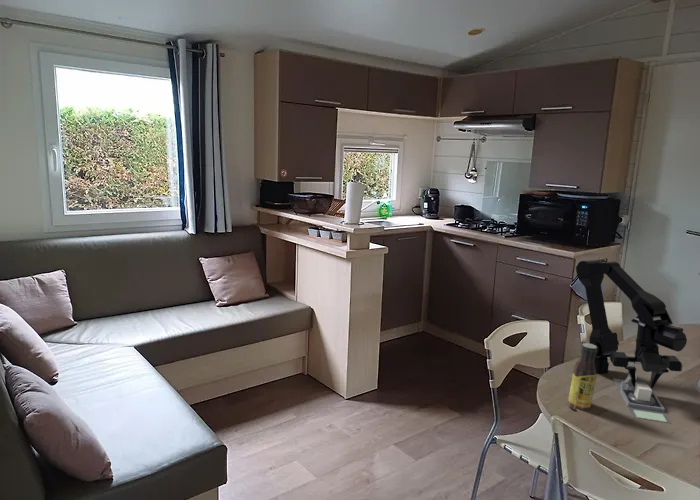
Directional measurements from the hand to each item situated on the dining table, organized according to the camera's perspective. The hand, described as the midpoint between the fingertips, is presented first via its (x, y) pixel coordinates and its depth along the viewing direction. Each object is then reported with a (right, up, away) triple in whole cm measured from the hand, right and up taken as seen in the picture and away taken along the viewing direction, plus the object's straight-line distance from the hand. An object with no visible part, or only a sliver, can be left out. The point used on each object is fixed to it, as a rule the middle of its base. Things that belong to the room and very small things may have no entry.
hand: (642, 386), depth 160 cm
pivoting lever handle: (-3, -1, +3) cm, 4 cm away
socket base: (-3, -4, -3) cm, 6 cm away
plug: (-3, -3, -5) cm, 6 cm away
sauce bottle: (-23, -4, -7) cm, 25 cm away
